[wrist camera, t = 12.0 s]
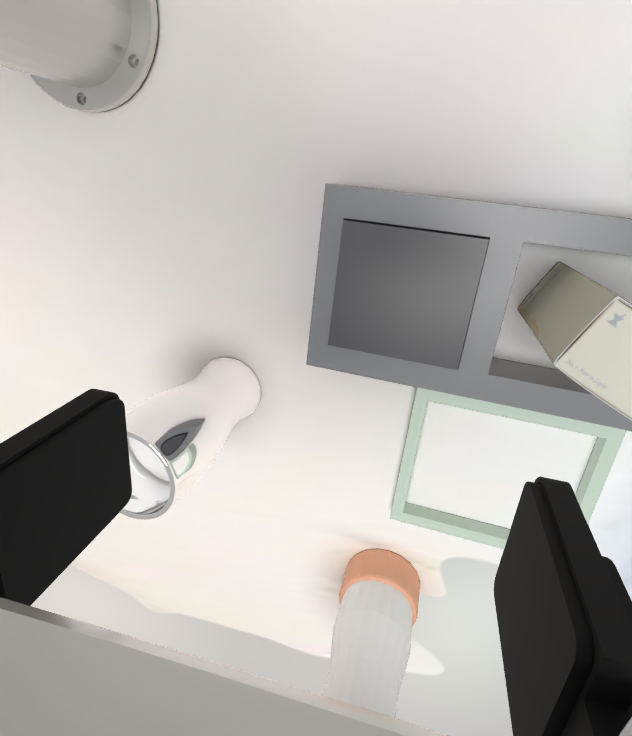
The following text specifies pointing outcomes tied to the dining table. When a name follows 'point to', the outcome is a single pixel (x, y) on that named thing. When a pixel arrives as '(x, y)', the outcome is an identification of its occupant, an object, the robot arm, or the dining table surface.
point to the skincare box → (584, 333)
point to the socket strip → (442, 294)
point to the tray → (600, 455)
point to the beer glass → (184, 433)
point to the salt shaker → (373, 631)
